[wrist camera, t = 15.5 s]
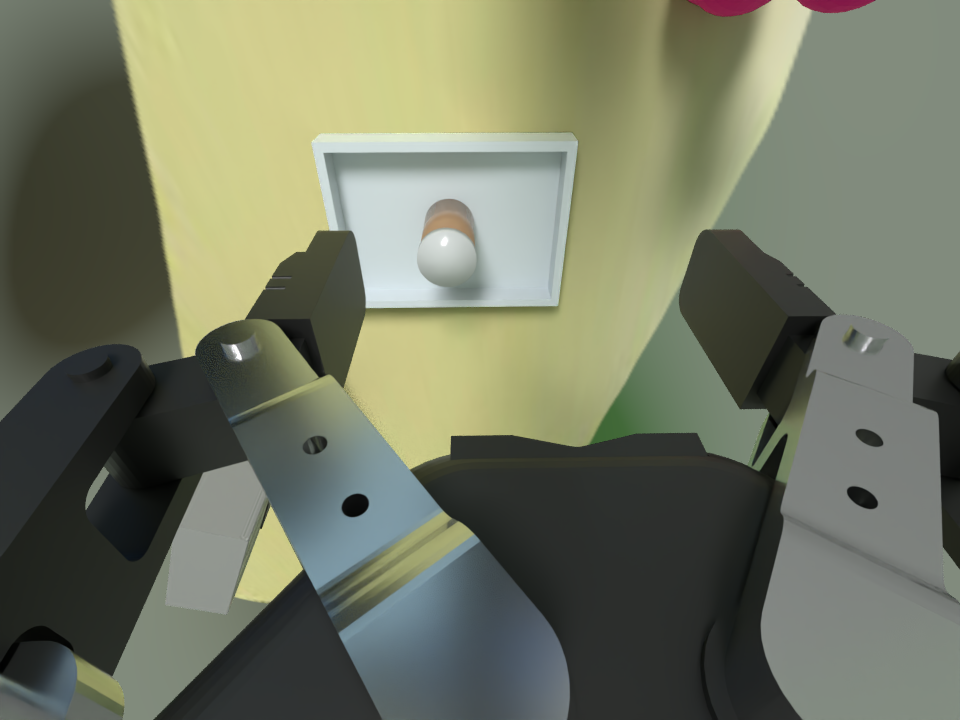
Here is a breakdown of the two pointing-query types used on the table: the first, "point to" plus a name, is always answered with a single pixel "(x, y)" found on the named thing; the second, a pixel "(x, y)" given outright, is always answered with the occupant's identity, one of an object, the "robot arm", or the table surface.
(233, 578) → the cassette tape recorder
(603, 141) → the table surface
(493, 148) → the tray
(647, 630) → the robot arm
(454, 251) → the shaker
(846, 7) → the pepper mill
